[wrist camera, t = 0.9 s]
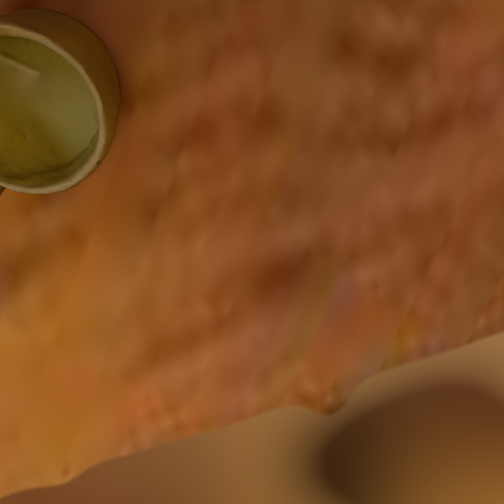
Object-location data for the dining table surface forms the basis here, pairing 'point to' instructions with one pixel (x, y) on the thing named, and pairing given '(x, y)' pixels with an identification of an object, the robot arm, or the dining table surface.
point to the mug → (53, 102)
